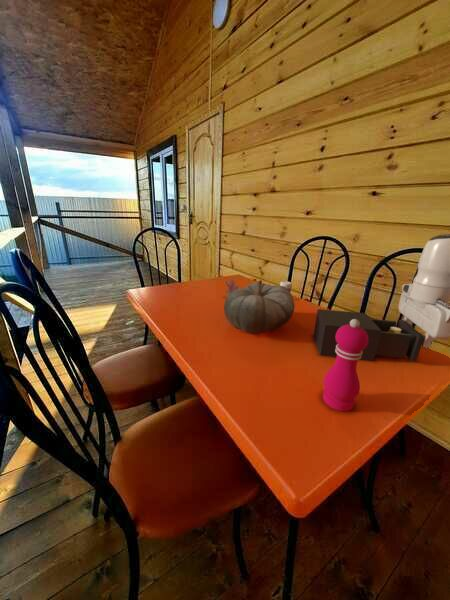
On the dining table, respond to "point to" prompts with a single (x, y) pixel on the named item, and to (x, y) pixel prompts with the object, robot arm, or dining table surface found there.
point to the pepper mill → (345, 367)
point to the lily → (231, 286)
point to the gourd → (259, 308)
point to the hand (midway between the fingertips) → (415, 338)
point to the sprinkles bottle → (286, 285)
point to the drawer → (398, 340)
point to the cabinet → (334, 320)
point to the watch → (394, 330)
